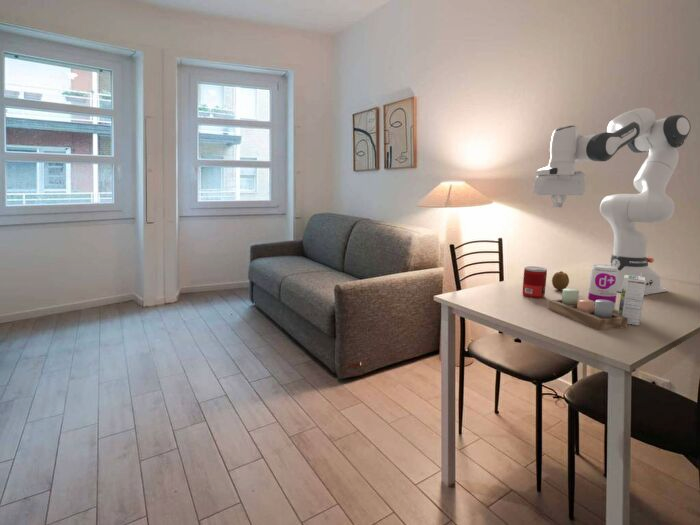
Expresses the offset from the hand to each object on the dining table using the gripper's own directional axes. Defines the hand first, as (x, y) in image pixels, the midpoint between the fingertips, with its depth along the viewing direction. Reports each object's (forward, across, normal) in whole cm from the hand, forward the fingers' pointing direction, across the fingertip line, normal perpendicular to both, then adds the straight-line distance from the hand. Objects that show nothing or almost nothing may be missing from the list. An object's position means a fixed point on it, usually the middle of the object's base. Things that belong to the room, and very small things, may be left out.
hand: (557, 207), depth 156 cm
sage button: (+32, +10, +22) cm, 40 cm away
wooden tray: (+34, +10, +29) cm, 46 cm away
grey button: (+32, +10, +36) cm, 49 cm away
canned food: (+34, +9, +2) cm, 36 cm away
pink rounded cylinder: (+34, +10, +29) cm, 45 cm away
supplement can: (+34, -3, +22) cm, 41 cm away
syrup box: (+34, 0, +36) cm, 50 cm away
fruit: (+34, -7, -3) cm, 35 cm away
